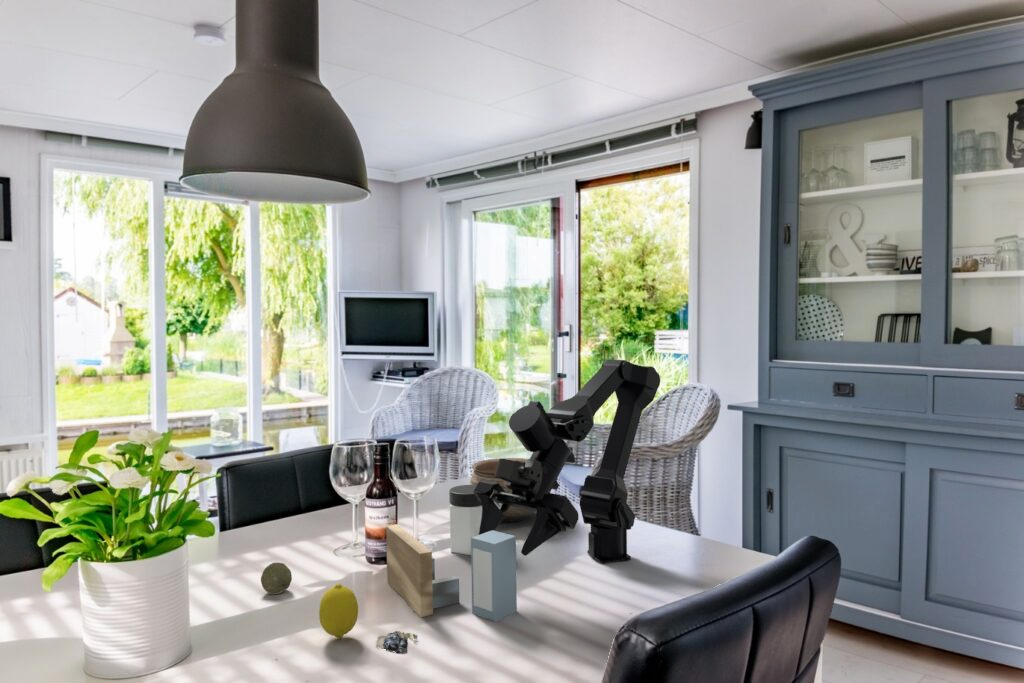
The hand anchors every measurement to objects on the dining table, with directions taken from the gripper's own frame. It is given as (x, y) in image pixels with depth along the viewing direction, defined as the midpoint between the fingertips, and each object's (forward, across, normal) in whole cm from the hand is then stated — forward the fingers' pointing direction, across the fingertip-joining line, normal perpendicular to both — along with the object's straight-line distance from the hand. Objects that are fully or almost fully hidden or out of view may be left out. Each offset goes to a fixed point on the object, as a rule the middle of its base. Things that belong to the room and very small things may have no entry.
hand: (500, 548), depth 114 cm
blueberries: (+21, -3, -6) cm, 22 cm away
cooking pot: (-22, -32, +35) cm, 52 cm away
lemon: (+23, -11, -9) cm, 27 cm away
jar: (-6, -25, +20) cm, 32 cm away
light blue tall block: (+8, 0, +6) cm, 10 cm away
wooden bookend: (+9, -14, +4) cm, 18 cm away
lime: (+20, -35, -6) cm, 41 cm away
